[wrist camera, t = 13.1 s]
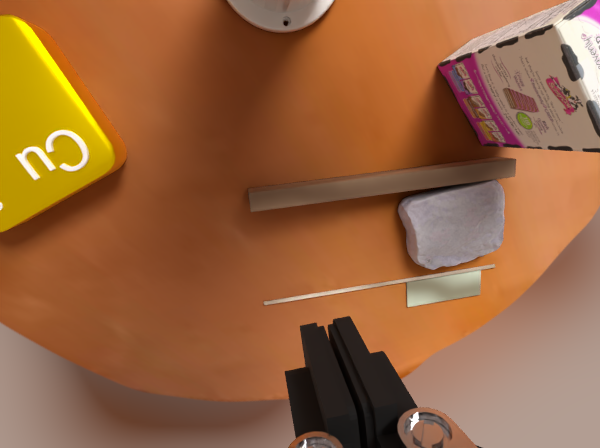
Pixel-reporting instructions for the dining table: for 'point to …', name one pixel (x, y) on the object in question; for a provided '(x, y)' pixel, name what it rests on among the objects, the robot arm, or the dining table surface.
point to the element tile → (46, 126)
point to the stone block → (453, 223)
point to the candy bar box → (533, 80)
